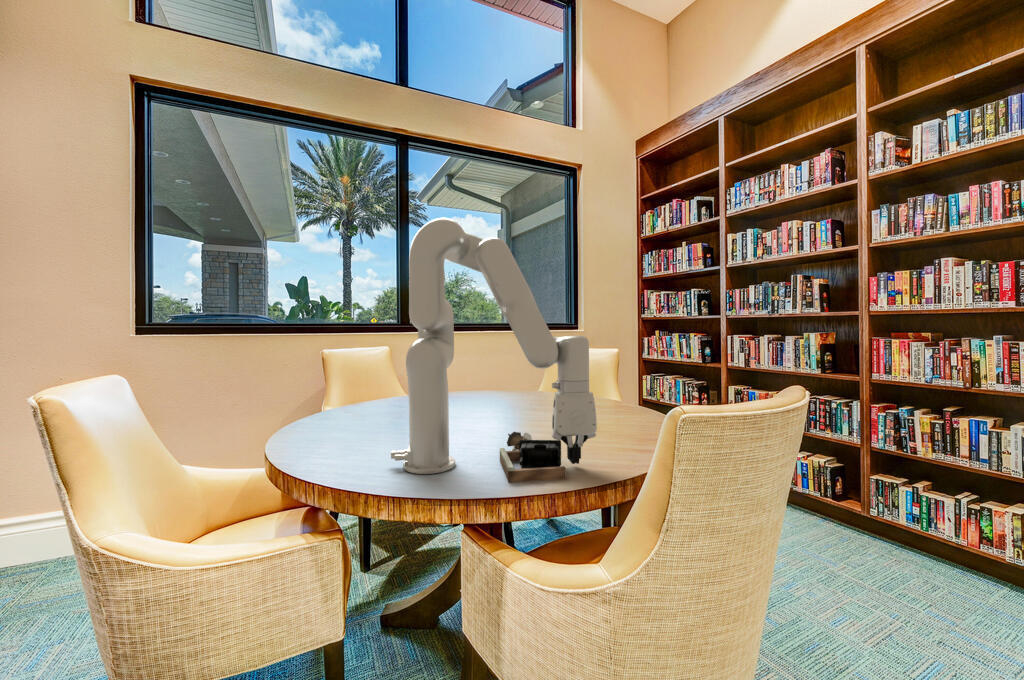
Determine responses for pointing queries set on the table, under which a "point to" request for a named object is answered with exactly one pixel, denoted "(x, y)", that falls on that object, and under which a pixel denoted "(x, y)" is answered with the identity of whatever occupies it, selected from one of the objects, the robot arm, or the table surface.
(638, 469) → the table surface
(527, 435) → the squirrel figurine
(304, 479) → the table surface
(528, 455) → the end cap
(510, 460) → the wooden tray
